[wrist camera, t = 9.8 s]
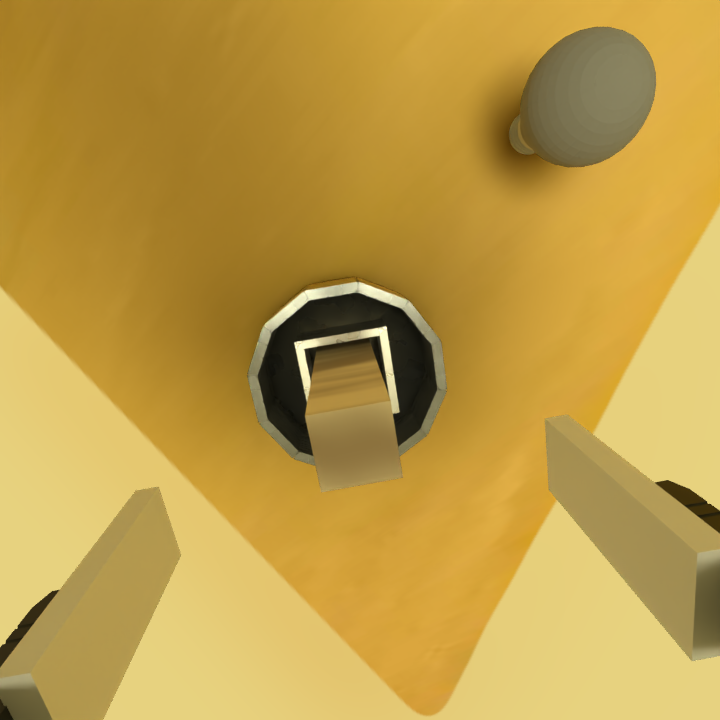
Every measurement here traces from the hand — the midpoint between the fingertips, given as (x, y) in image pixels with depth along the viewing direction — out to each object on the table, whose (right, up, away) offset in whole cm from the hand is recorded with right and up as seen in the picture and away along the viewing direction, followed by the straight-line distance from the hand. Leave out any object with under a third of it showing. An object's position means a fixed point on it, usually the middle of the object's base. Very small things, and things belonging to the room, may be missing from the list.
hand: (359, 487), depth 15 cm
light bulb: (+11, +19, +14) cm, 26 cm away
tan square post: (-1, +4, +17) cm, 17 cm away
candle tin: (-1, +4, +17) cm, 18 cm away
